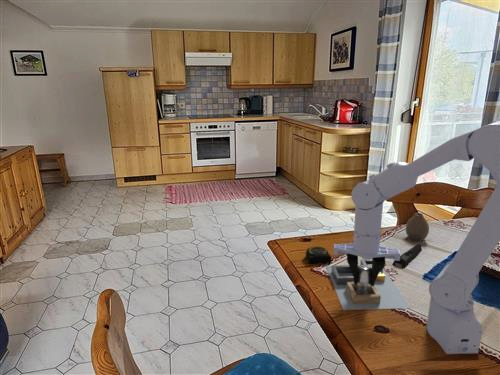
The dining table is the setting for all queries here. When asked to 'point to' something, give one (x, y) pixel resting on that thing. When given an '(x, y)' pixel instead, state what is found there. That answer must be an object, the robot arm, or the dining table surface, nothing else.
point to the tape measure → (318, 255)
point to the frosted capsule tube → (363, 280)
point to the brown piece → (363, 299)
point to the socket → (346, 269)
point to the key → (379, 275)
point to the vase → (417, 227)
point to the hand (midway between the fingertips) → (363, 282)
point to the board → (385, 288)
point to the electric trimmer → (408, 256)
